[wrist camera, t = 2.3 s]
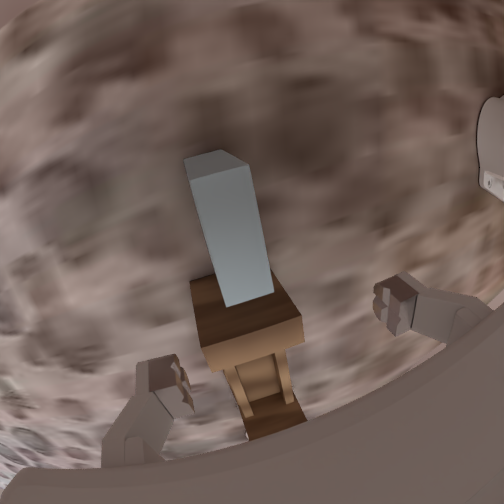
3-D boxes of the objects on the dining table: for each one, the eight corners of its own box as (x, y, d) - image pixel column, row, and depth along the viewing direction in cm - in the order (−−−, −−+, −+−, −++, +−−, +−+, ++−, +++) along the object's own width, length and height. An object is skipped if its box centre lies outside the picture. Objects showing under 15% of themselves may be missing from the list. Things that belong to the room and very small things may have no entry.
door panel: (241, 238, 30) (274, 291, 21) (207, 248, 29) (226, 307, 20) (221, 149, 25) (249, 164, 17) (182, 159, 25) (189, 180, 16)
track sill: (289, 391, 42) (314, 441, 33) (240, 407, 41) (258, 461, 32) (263, 258, 31) (301, 315, 22) (189, 281, 30) (200, 348, 21)
